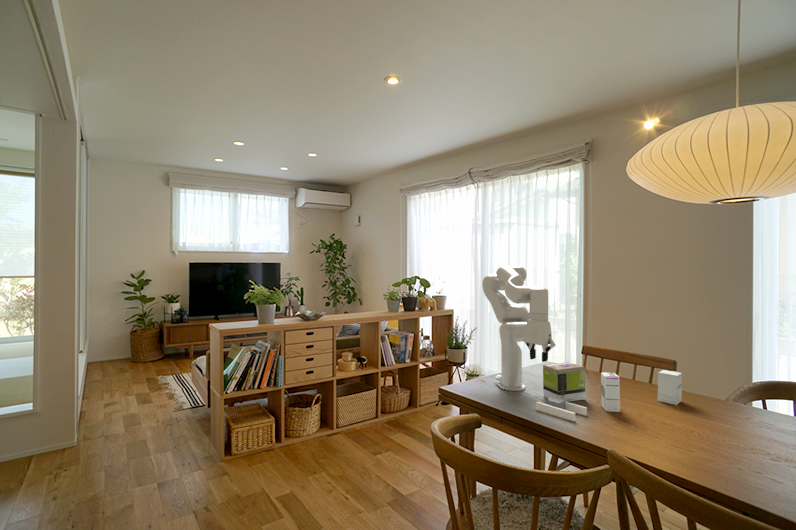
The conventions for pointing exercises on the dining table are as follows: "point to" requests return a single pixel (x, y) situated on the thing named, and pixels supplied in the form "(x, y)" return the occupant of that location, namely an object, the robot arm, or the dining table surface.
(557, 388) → the tea box
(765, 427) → the dining table surface
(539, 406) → the channel
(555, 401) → the block
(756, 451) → the dining table surface
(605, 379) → the syrup box
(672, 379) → the supplement box
